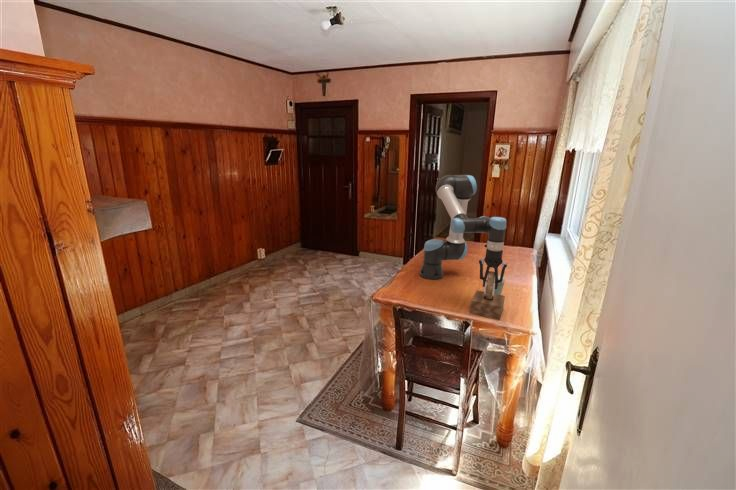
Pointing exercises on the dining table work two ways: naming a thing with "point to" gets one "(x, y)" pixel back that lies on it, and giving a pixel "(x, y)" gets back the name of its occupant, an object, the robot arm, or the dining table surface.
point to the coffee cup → (499, 286)
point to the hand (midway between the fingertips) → (489, 293)
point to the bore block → (487, 305)
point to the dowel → (490, 285)
